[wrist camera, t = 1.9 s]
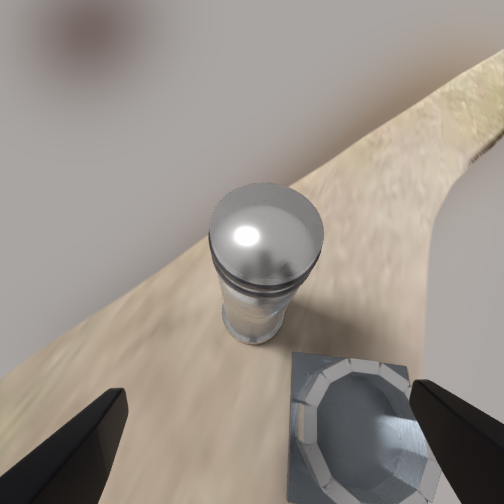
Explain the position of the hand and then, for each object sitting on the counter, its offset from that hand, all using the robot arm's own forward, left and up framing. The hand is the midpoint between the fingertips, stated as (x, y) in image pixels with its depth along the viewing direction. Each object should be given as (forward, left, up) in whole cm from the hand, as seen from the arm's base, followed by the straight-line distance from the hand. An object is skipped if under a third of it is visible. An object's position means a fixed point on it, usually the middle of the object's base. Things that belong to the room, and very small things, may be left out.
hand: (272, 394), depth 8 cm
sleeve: (-1, -7, -12) cm, 14 cm away
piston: (+6, +1, -12) cm, 13 cm away
